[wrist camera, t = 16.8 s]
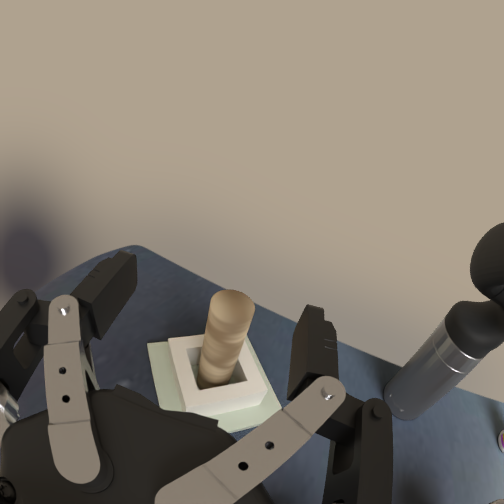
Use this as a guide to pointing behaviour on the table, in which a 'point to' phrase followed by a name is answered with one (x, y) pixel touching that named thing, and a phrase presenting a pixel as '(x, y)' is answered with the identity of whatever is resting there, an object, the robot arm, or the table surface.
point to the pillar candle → (498, 501)
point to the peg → (224, 337)
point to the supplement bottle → (501, 440)
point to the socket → (213, 399)
